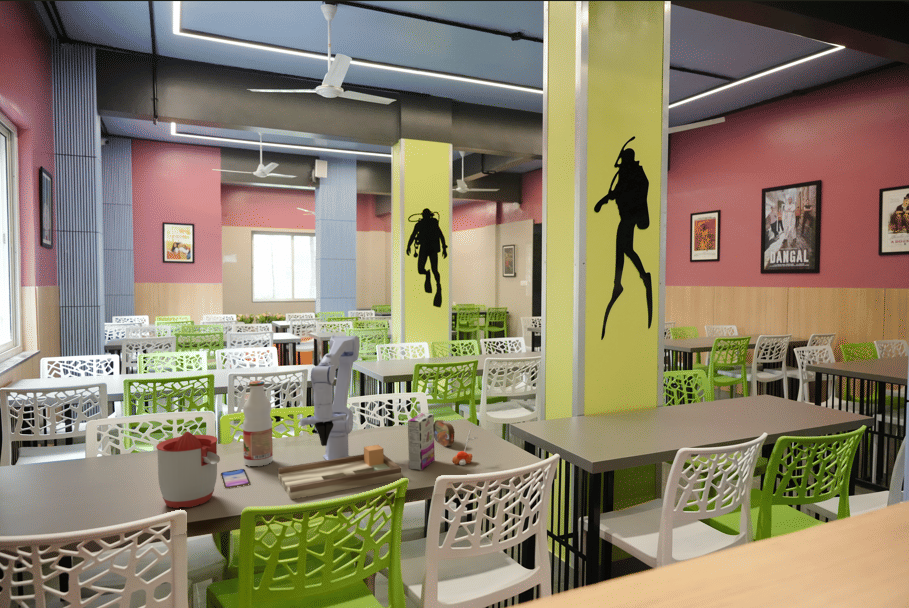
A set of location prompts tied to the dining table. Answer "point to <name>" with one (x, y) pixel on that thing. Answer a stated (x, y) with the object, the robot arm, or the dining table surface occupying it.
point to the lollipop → (463, 454)
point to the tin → (443, 433)
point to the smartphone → (235, 478)
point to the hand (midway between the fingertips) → (323, 445)
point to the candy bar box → (421, 441)
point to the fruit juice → (257, 427)
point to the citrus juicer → (187, 469)
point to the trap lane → (335, 475)
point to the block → (373, 455)
